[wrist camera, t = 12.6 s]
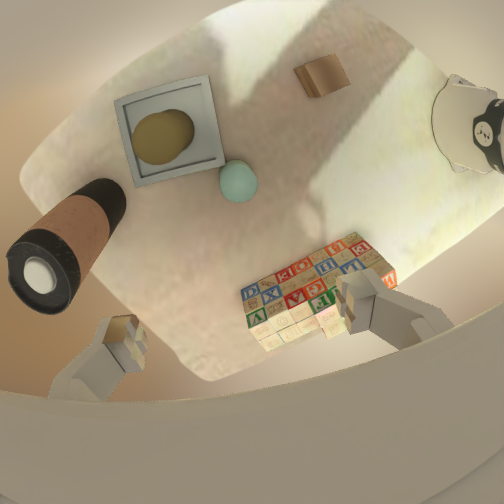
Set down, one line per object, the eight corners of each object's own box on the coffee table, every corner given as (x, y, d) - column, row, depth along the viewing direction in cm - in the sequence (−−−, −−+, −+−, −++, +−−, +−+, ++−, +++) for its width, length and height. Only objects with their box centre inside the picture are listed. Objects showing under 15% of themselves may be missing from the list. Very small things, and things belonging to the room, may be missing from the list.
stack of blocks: (256, 313, 49) (269, 367, 38) (239, 289, 46) (250, 344, 35) (364, 258, 47) (400, 300, 36) (356, 230, 44) (396, 269, 33)
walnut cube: (321, 58, 30) (334, 53, 26) (335, 85, 32) (350, 84, 28) (293, 69, 31) (304, 64, 27) (309, 97, 33) (321, 96, 29)
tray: (207, 76, 30) (207, 74, 28) (225, 162, 36) (225, 165, 34) (118, 101, 29) (113, 101, 27) (139, 184, 35) (135, 188, 33)
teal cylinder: (246, 155, 36) (251, 162, 31) (255, 184, 38) (261, 196, 34) (214, 165, 36) (215, 174, 31) (224, 194, 38) (227, 207, 34)
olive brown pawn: (162, 101, 30) (142, 97, 20) (203, 122, 32) (201, 126, 22) (140, 142, 32) (112, 156, 22) (180, 162, 34) (168, 184, 24)
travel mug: (137, 212, 37) (89, 300, 20) (98, 235, 38) (40, 325, 20) (111, 166, 33) (34, 223, 16) (72, 193, 34) (-8, 263, 16)
